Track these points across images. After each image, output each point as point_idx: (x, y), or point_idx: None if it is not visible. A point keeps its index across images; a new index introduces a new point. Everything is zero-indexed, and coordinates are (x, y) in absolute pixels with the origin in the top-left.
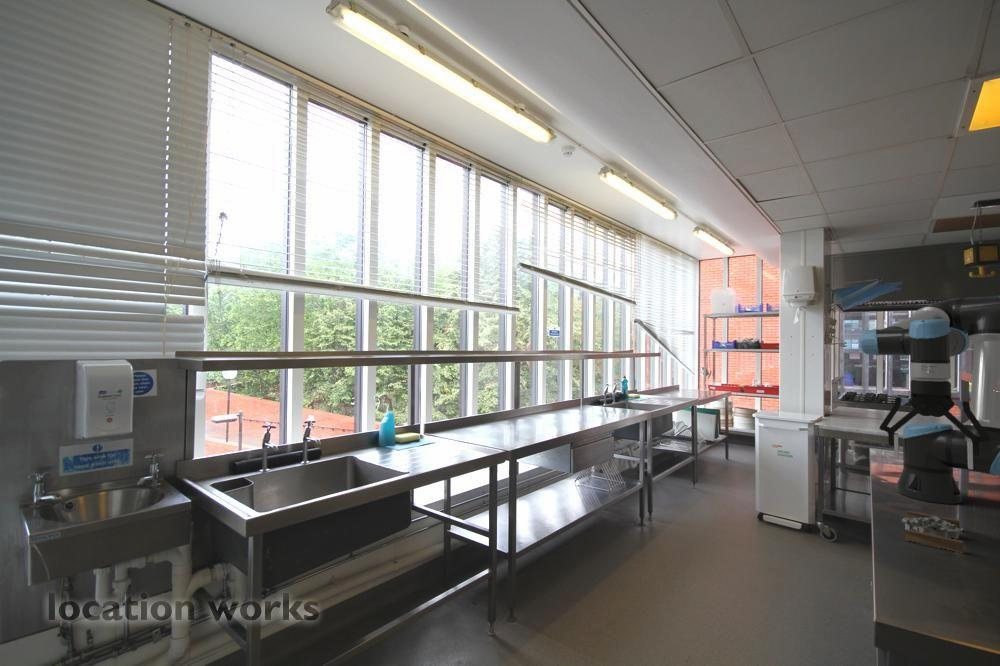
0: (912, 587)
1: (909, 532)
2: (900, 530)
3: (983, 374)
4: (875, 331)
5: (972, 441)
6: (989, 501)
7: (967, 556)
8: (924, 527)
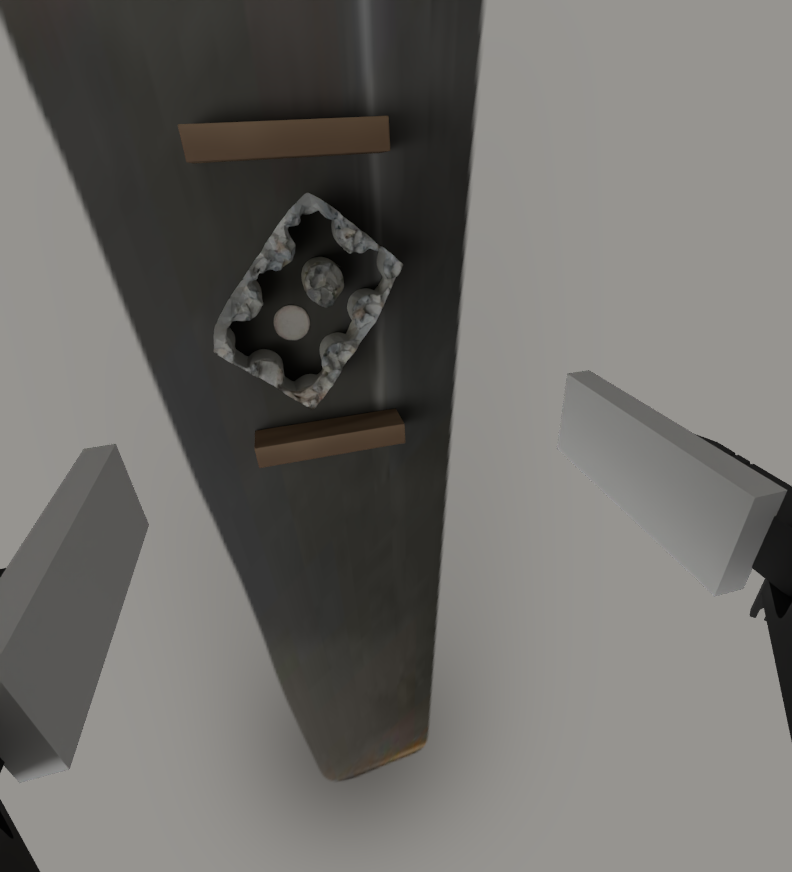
0: (333, 682)
1: (271, 464)
2: None
3: None
4: None
5: (761, 574)
6: None
7: None
8: (301, 402)
